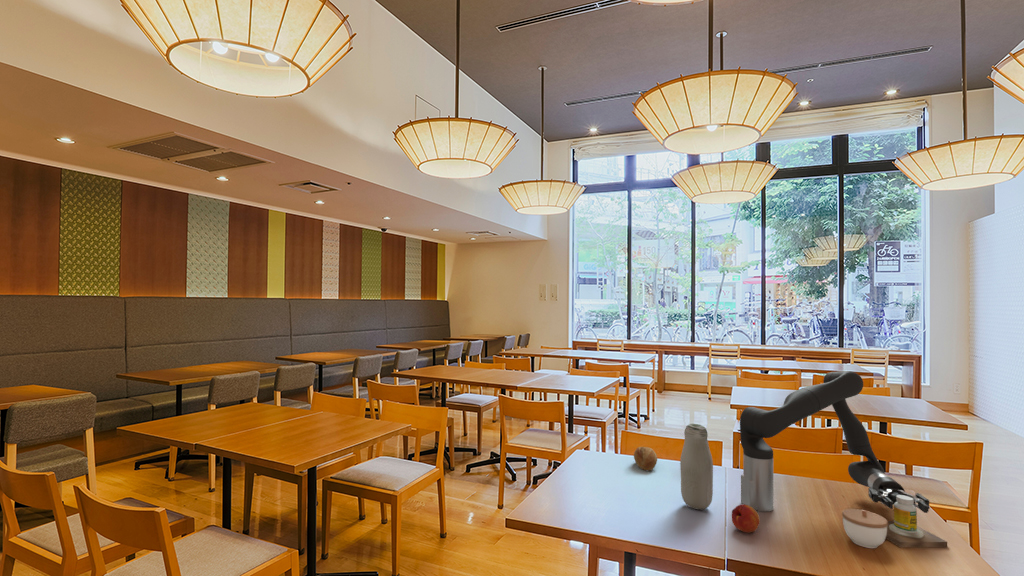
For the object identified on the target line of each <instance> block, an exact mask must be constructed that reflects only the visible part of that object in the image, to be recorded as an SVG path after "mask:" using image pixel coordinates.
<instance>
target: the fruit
mask: <svg viewBox="0 0 1024 576" xmlns="http://www.w3.org/2000/svg"><path fill="white" fill-rule="evenodd" d="M731 522H732V524H733V526H734V527H735V528H736V529H737V530H739V531H741V532H744V533H747V534H748V533H749V534H750V533H754V532H755V531H757V529H758V528H759V525H760V522H761V520H760V516H759V513H758V512H757V510H754V509H753V508H752V507H750V506H748V505H745V504H743V503H741V504H739V505H736V506H735V507H734V508H733V509H732V510H731Z"/></svg>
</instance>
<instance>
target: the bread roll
mask: <svg viewBox="0 0 1024 576" xmlns="http://www.w3.org/2000/svg"><path fill="white" fill-rule="evenodd" d="M633 458H634V461H635V464H636V465H637V466H638V467H639V468H640V469H642V470H643V471H647V470H648V471H652V470H654V468H655V467H656V465H657V462H658V456H657V454H656V452H655V450H654V449H653V448H651V447H649V446H638V447H637V448H635V450H634V452H633Z"/></svg>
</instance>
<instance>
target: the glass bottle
mask: <svg viewBox="0 0 1024 576" xmlns="http://www.w3.org/2000/svg"><path fill="white" fill-rule="evenodd" d="M683 435H684V443H683V447H682V451H681V454H680V460H679V461H680V463H679V464H680V465H679V467H680V494H681V498H682V500H683V502H684V503H685V504H686V505H687V506H688V507H690V508H692V509H695V510H699V509H700V510H705V509H708V508H709V507H710V506H711V504H712V501H713V495H714V493H713V491H714V488H713V487H714V484H713V482H714V480H713V479H714V462H713V461H714V460H713V456H712V453H711V450H710V446H709V440H708V437H709V436H708V435H709V434H708V430H707V428H706V427H705V426H704V425H701V424H698V423H689V424H688V425H686V427H685V429H684V434H683ZM700 510H699V511H700Z"/></svg>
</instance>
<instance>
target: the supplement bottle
mask: <svg viewBox="0 0 1024 576" xmlns="http://www.w3.org/2000/svg"><path fill="white" fill-rule="evenodd" d="M896 500H897V501H898V502H895V503H894V505H893V521H894V527H895V528H896V529H897V530H899V531H902V532H906V533H916V532H917V526H918V524H917V523H918V520H917V519H918V518H917V517H918V516H917V511H918V510H917V507H915V506H914V505H912V504H913V503H914V500H913V498H911V497H908V496H904V495H897V496H896Z"/></svg>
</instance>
